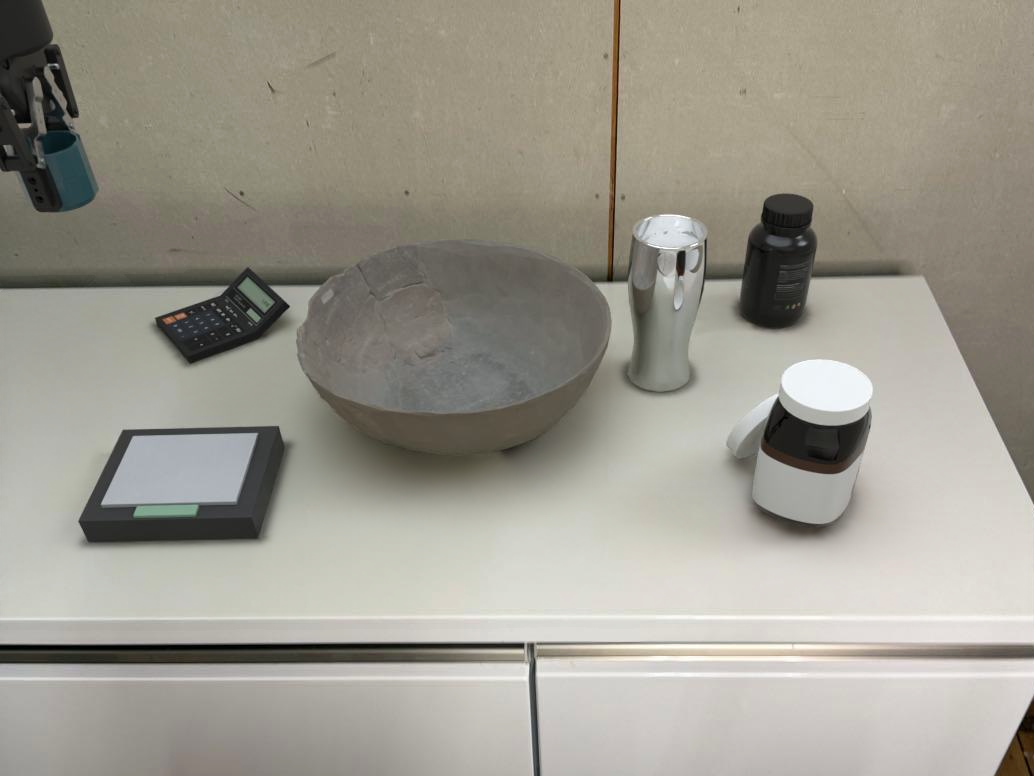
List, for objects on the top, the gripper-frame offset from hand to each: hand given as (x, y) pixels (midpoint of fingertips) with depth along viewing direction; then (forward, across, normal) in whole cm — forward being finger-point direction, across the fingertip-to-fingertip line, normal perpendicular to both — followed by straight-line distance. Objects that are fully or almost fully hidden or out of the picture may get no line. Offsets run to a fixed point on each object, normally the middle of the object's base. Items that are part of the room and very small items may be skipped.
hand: (62, 192), depth 85 cm
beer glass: (+18, +5, +53) cm, 57 cm away
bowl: (+18, +9, +34) cm, 40 cm away
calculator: (+18, -7, +8) cm, 21 cm away
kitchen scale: (+18, +20, +11) cm, 29 cm away
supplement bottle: (+18, -6, +67) cm, 69 cm away
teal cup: (+1, 0, 0) cm, 1 cm away
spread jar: (+18, +22, +62) cm, 69 cm away
